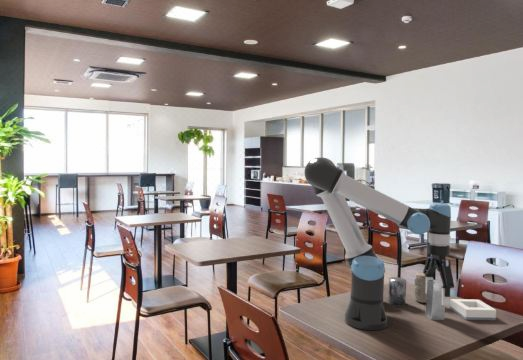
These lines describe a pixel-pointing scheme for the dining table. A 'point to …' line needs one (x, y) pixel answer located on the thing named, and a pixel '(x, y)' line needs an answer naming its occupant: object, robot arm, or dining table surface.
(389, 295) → the round bit
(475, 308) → the bore block
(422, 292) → the carving
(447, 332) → the dining table surface
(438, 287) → the square peg
